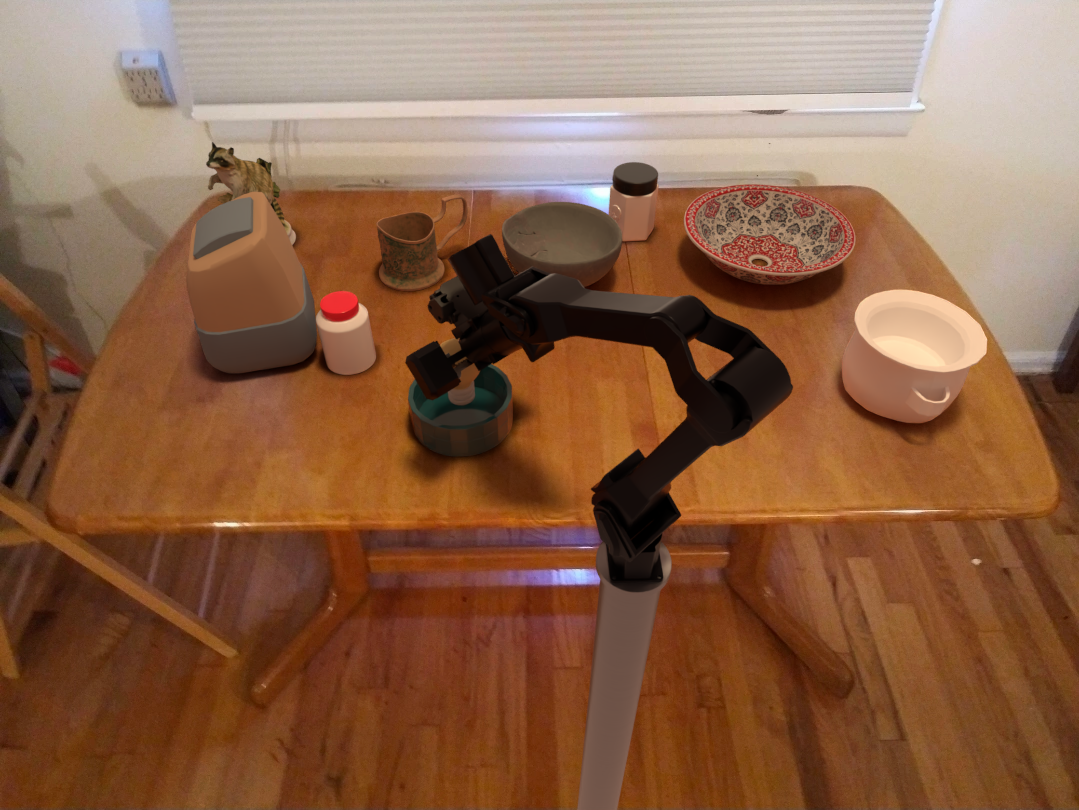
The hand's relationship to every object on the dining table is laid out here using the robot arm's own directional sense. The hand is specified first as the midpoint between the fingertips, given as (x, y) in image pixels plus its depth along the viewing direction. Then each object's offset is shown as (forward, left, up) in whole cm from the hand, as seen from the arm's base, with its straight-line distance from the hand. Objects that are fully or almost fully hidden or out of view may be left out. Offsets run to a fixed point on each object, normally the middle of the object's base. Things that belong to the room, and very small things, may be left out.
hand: (452, 358), depth 106 cm
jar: (+49, -31, -11) cm, 59 cm away
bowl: (+34, -17, -11) cm, 40 cm away
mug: (+38, +7, -11) cm, 40 cm away
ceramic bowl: (+37, -53, -11) cm, 65 cm away
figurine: (+47, +38, -11) cm, 62 cm away
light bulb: (-1, -1, -7) cm, 7 cm away
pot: (+3, -65, -11) cm, 66 cm away
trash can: (+17, +31, -11) cm, 37 cm away
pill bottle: (+13, +17, -11) cm, 24 cm away
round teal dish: (-1, -1, -11) cm, 11 cm away
